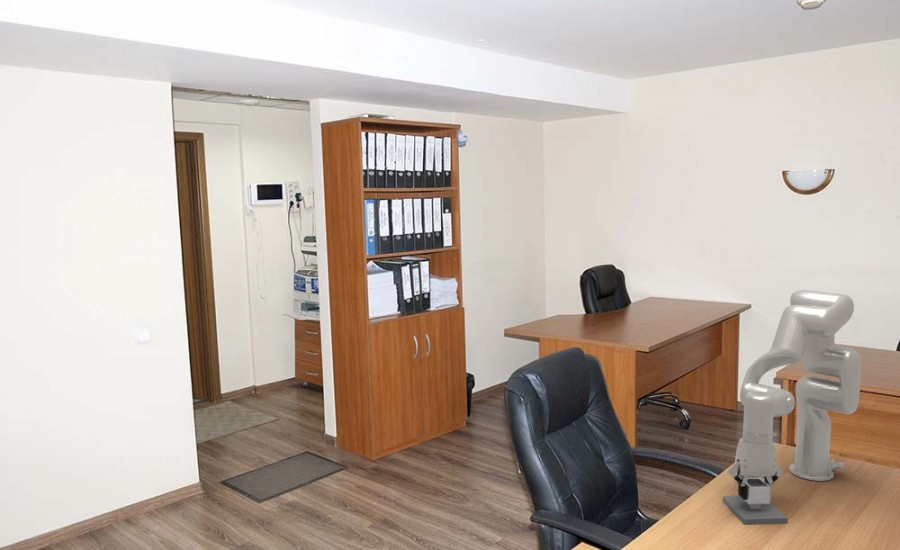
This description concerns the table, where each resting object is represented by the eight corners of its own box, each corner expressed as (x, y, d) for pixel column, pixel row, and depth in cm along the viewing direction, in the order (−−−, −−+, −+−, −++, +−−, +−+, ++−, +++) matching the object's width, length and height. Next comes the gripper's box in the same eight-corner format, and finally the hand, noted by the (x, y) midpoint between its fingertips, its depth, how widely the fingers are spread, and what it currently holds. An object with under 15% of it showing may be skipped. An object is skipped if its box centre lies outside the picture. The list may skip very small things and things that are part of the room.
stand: (762, 499, 202) (763, 480, 201) (787, 523, 188) (788, 502, 187) (722, 500, 202) (723, 481, 201) (744, 524, 188) (745, 503, 187)
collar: (759, 494, 197) (760, 477, 196) (769, 503, 191) (770, 486, 191) (739, 494, 197) (739, 477, 196) (748, 504, 191) (749, 487, 190)
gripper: (780, 431, 196) (777, 491, 198) (721, 432, 195) (718, 492, 198) (794, 440, 188) (791, 503, 191) (732, 441, 188) (730, 504, 190)
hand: (754, 496), depth 194 cm, fingers closed on collar, 5 cm apart
